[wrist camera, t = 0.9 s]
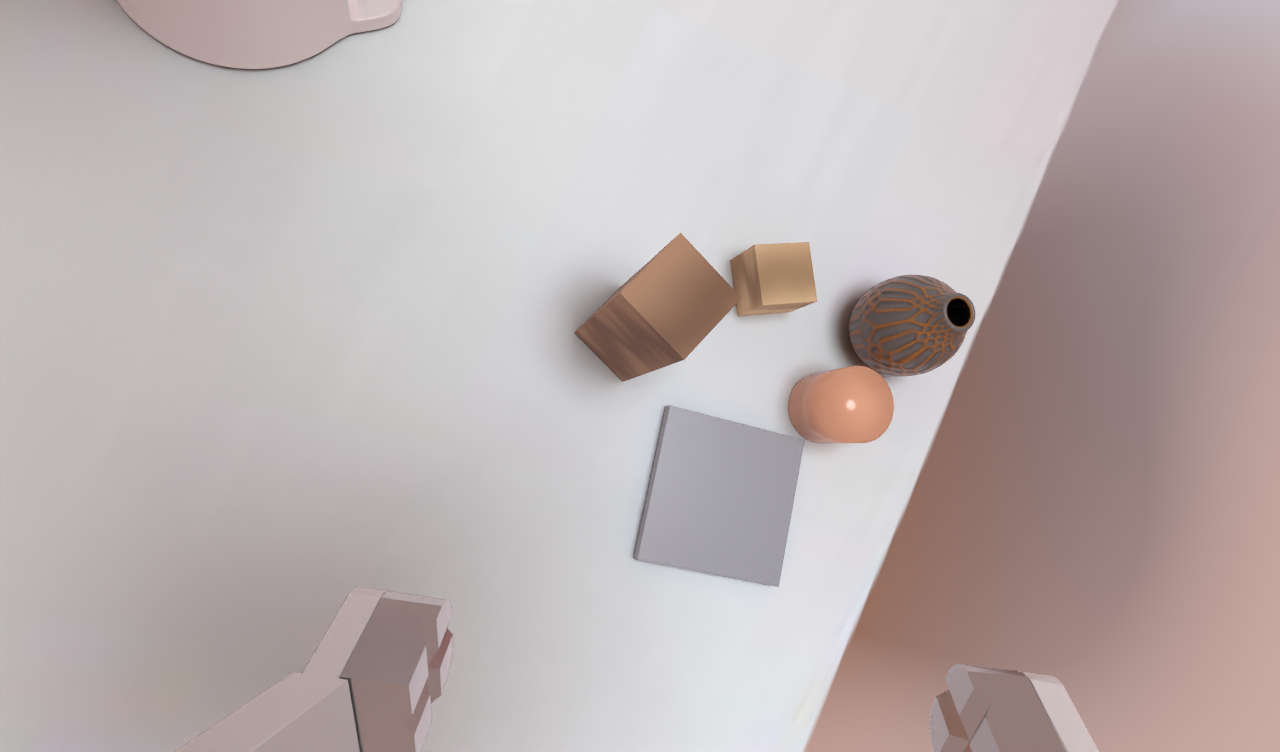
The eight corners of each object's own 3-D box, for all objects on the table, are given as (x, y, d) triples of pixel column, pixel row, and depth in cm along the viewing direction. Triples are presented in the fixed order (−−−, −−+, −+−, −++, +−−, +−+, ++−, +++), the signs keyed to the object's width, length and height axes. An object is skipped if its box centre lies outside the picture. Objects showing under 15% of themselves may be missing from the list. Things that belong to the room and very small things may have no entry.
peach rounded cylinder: (795, 365, 48) (833, 357, 43) (855, 383, 49) (899, 376, 45) (782, 434, 47) (819, 433, 43) (843, 450, 49) (887, 450, 44)
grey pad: (665, 406, 45) (670, 405, 44) (797, 439, 48) (804, 440, 47) (633, 557, 44) (637, 559, 43) (771, 583, 46) (778, 586, 45)
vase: (926, 317, 52) (1019, 292, 43) (894, 396, 50) (984, 387, 42) (854, 271, 50) (936, 236, 42) (819, 352, 49) (897, 332, 41)
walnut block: (574, 332, 44) (620, 293, 33) (621, 287, 45) (680, 233, 34) (622, 381, 45) (684, 359, 33) (667, 335, 46) (741, 298, 34)
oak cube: (729, 260, 48) (754, 244, 44) (780, 258, 49) (808, 242, 45) (737, 316, 47) (762, 305, 44) (787, 312, 49) (817, 301, 45)
